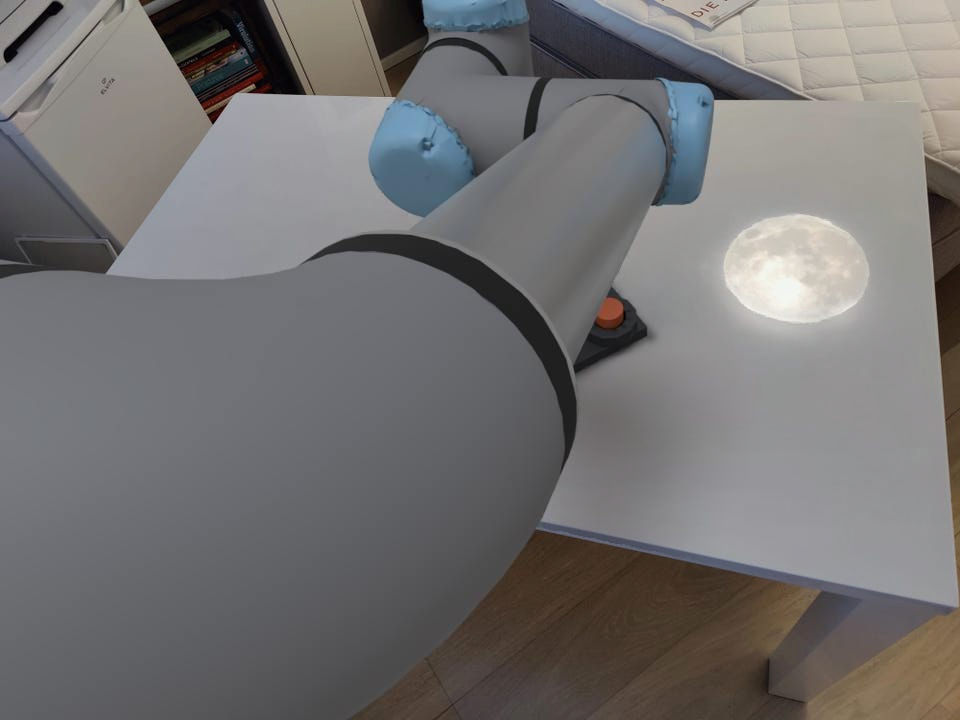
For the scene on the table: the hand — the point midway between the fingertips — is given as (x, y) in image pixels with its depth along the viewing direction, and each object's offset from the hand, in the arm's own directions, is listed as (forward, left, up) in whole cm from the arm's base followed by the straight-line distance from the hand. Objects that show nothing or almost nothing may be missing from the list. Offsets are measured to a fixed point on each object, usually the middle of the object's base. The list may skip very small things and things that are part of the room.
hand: (529, 313), depth 81 cm
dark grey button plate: (+3, -1, -4) cm, 5 cm away
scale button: (+8, -5, -1) cm, 9 cm away
